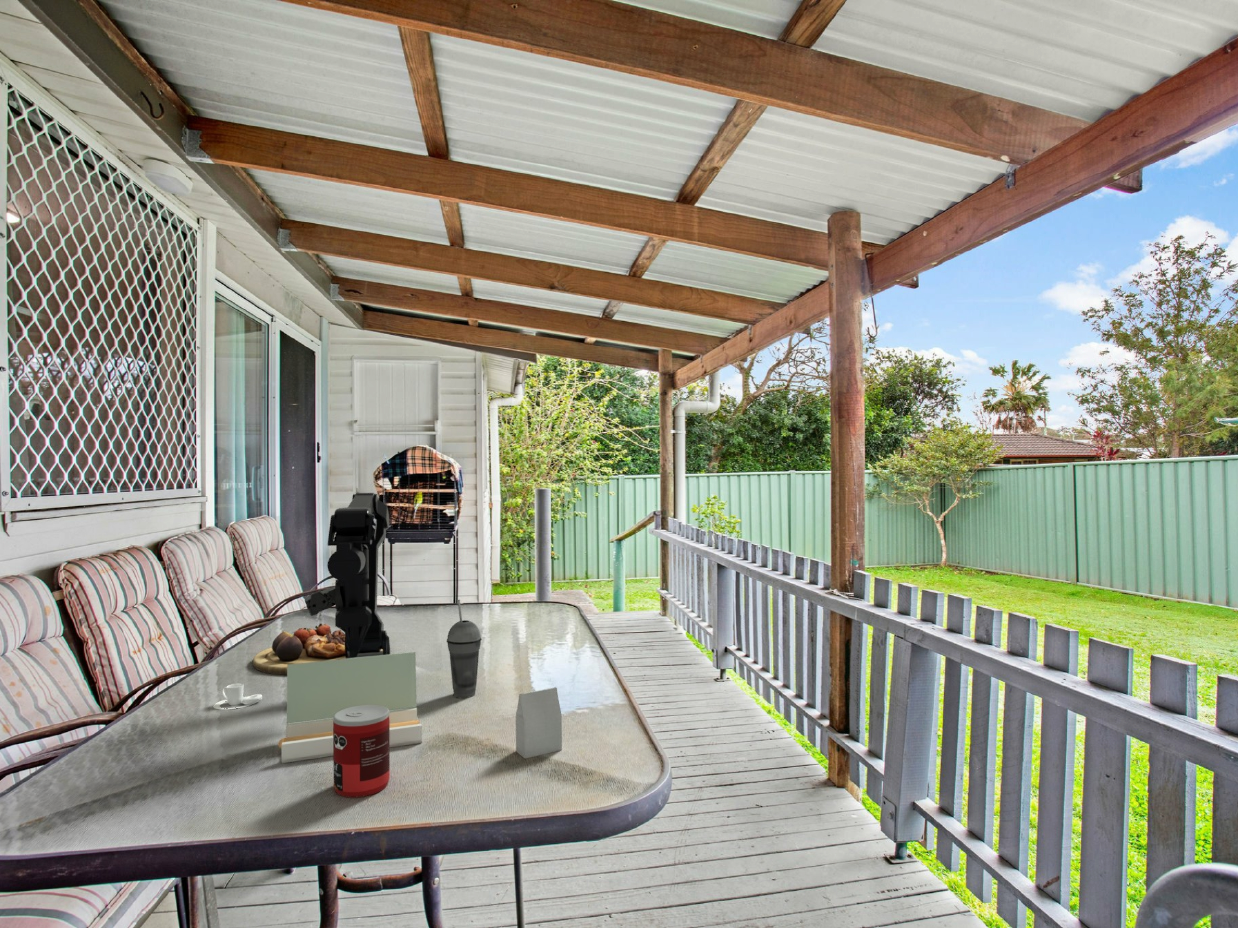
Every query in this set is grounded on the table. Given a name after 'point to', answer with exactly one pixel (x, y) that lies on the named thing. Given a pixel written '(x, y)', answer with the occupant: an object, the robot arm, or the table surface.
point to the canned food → (361, 750)
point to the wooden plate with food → (301, 649)
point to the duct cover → (350, 685)
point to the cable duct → (325, 744)
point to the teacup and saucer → (237, 697)
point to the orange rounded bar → (332, 733)
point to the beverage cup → (464, 656)
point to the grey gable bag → (538, 723)
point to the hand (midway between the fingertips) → (353, 653)
